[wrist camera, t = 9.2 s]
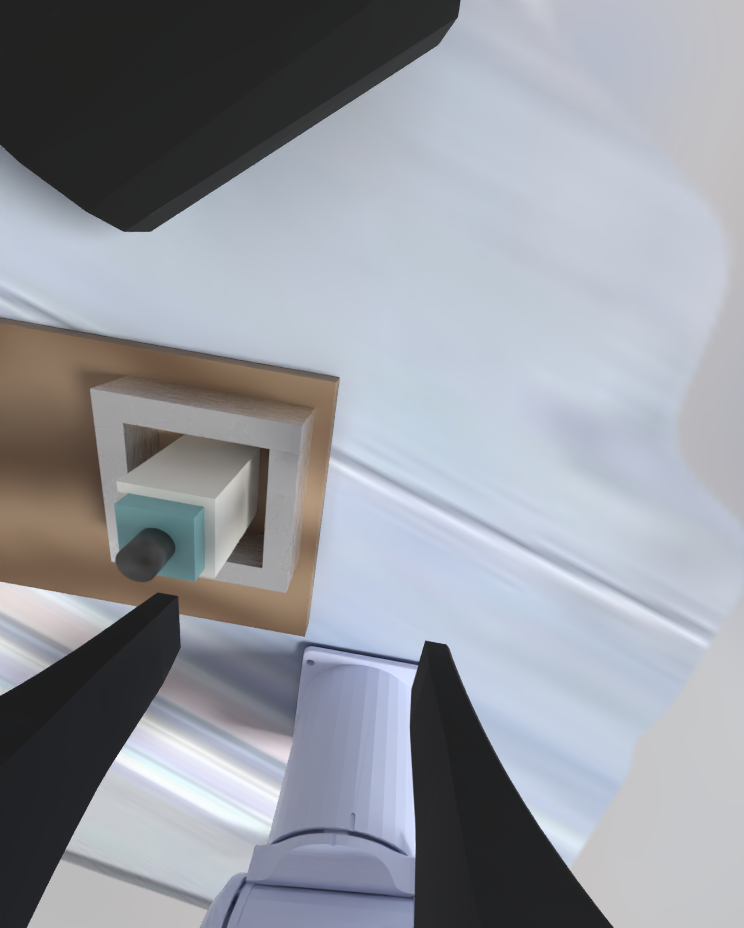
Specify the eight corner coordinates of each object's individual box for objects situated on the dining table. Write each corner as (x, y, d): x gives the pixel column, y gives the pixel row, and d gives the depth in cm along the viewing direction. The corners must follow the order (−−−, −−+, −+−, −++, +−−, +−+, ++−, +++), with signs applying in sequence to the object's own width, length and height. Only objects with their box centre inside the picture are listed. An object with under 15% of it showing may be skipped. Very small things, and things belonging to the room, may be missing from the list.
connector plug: (257, 513, 21) (190, 615, 14) (186, 500, 21) (89, 597, 15) (260, 447, 19) (188, 530, 13) (184, 434, 19) (75, 509, 13)
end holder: (298, 560, 22) (286, 593, 20) (142, 532, 22) (111, 561, 20) (314, 408, 18) (301, 426, 16) (129, 375, 18) (89, 388, 16)
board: (308, 623, 25) (304, 636, 24) (-18, 564, 25) (-34, 575, 24) (339, 377, 19) (336, 382, 18) (-93, 301, 19) (-118, 302, 18)
